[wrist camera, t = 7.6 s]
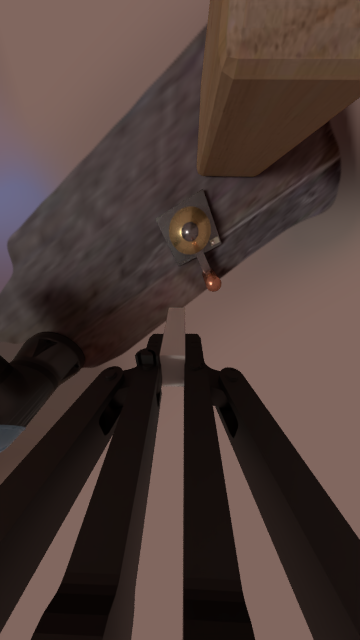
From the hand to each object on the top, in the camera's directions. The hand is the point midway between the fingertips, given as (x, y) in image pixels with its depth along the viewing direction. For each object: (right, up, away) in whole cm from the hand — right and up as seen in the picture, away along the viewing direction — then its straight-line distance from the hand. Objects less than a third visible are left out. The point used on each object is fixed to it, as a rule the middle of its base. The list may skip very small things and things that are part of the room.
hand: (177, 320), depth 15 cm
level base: (+2, +17, +14) cm, 22 cm away
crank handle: (+3, +13, +14) cm, 20 cm away
